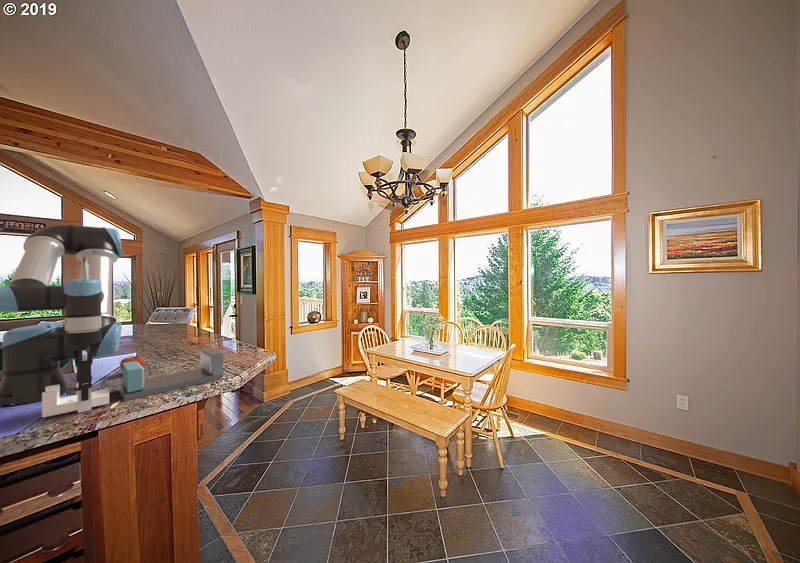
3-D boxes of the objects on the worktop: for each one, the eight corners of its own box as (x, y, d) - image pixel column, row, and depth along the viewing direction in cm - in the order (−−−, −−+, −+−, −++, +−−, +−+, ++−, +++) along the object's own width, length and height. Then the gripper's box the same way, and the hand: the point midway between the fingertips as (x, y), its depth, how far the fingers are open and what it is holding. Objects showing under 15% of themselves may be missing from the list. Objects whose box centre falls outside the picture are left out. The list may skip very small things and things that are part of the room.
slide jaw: (122, 383, 102) (122, 362, 102) (137, 380, 105) (137, 360, 105) (128, 392, 93) (127, 370, 93) (144, 389, 96) (144, 367, 96)
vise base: (118, 390, 101) (118, 384, 101) (210, 371, 123) (210, 366, 123) (124, 401, 92) (124, 394, 92) (223, 378, 113) (223, 373, 113)
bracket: (42, 421, 80) (41, 393, 80) (46, 412, 85) (45, 386, 85) (109, 406, 89) (109, 381, 89) (109, 399, 94) (109, 376, 94)
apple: (120, 373, 119) (120, 354, 119) (144, 369, 124) (144, 351, 124) (119, 378, 114) (119, 357, 114) (144, 374, 119) (144, 354, 119)
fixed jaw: (199, 368, 120) (199, 348, 120) (210, 366, 123) (210, 347, 123) (211, 376, 110) (211, 354, 110) (223, 373, 113) (222, 352, 113)
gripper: (64, 328, 92) (64, 401, 92) (64, 337, 78) (65, 422, 78) (98, 325, 97) (98, 394, 97) (104, 333, 84) (105, 412, 84)
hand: (83, 406), depth 88 cm, fingers open, 8 cm apart
